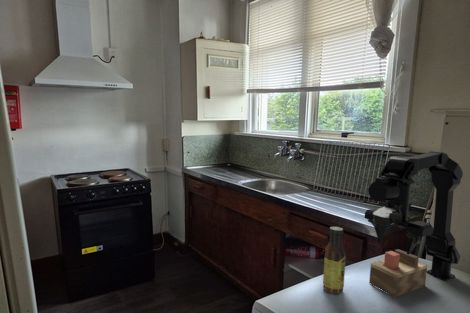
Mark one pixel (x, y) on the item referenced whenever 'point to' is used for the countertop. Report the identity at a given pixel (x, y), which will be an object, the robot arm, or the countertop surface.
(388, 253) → the block
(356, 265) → the countertop surface
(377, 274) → the wooden box
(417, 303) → the countertop surface
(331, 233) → the sauce bottle
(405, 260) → the lid
